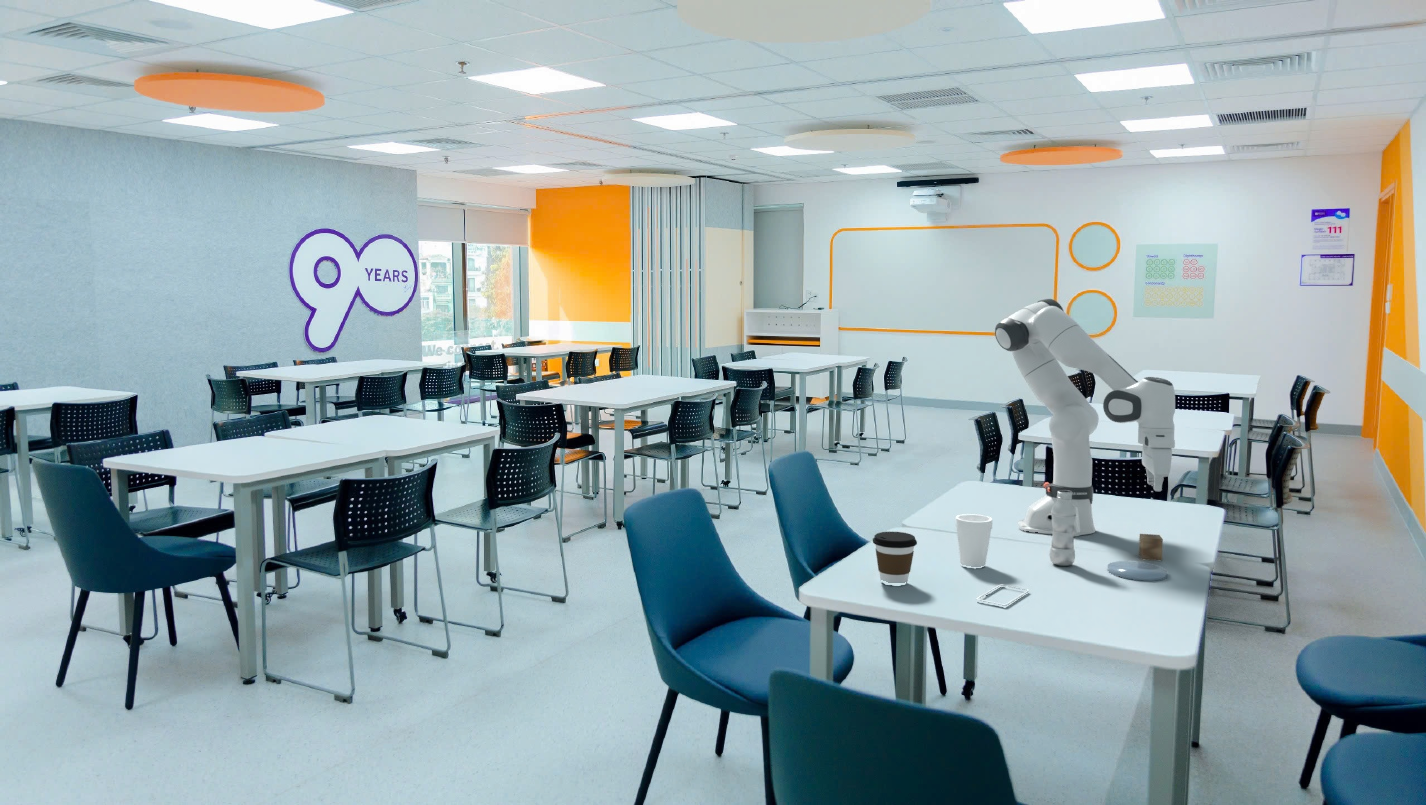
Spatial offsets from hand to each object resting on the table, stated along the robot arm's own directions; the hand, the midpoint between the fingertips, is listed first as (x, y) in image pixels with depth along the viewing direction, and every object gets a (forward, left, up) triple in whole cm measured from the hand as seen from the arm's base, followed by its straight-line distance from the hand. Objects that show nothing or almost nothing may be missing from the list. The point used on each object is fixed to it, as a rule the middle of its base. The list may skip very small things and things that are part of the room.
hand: (1154, 487), depth 253 cm
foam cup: (-47, -21, -20) cm, 55 cm away
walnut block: (0, 0, -20) cm, 20 cm away
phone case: (-40, -47, -20) cm, 65 cm away
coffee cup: (-66, -42, -20) cm, 81 cm away
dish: (-6, -17, -20) cm, 27 cm away
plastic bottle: (-24, -14, -20) cm, 34 cm away
